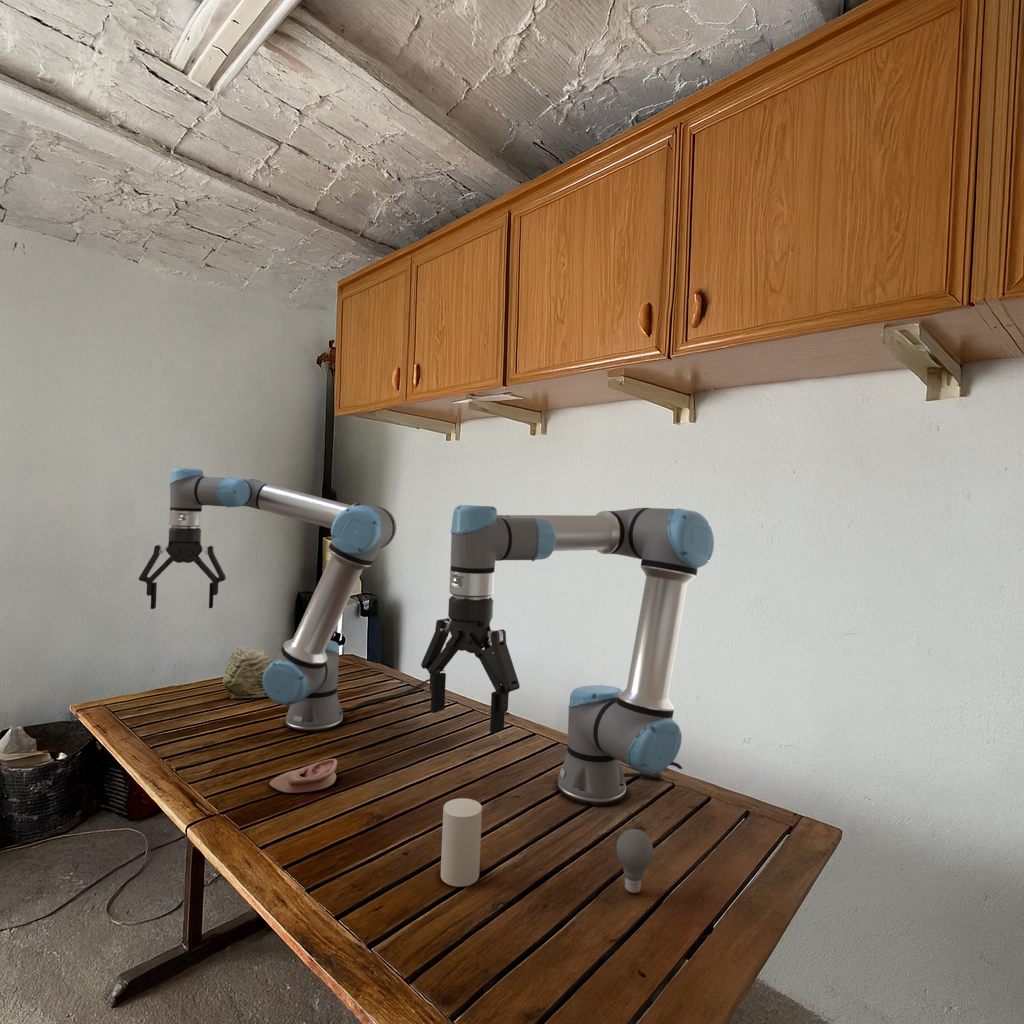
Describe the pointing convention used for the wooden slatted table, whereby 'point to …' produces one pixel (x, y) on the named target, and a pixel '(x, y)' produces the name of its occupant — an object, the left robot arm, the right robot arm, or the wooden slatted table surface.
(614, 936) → the wooden slatted table surface
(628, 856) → the light bulb
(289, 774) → the anatomical model
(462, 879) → the canister
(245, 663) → the fossil
